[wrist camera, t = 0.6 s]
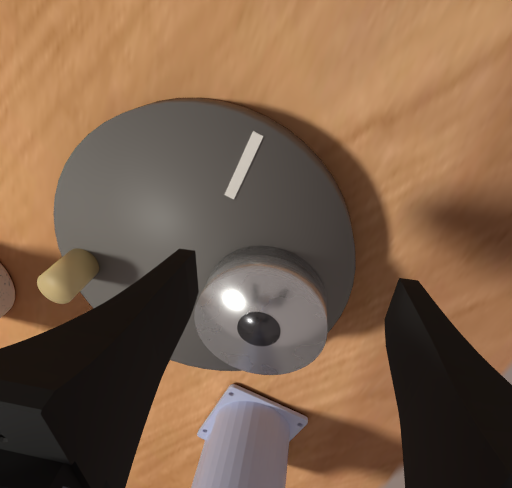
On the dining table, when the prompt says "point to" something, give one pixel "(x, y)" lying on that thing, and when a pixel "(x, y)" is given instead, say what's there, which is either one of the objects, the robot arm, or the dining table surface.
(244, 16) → the dining table surface
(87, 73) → the dining table surface
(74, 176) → the turntable
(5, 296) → the teacup with lid
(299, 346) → the cover
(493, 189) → the dining table surface
